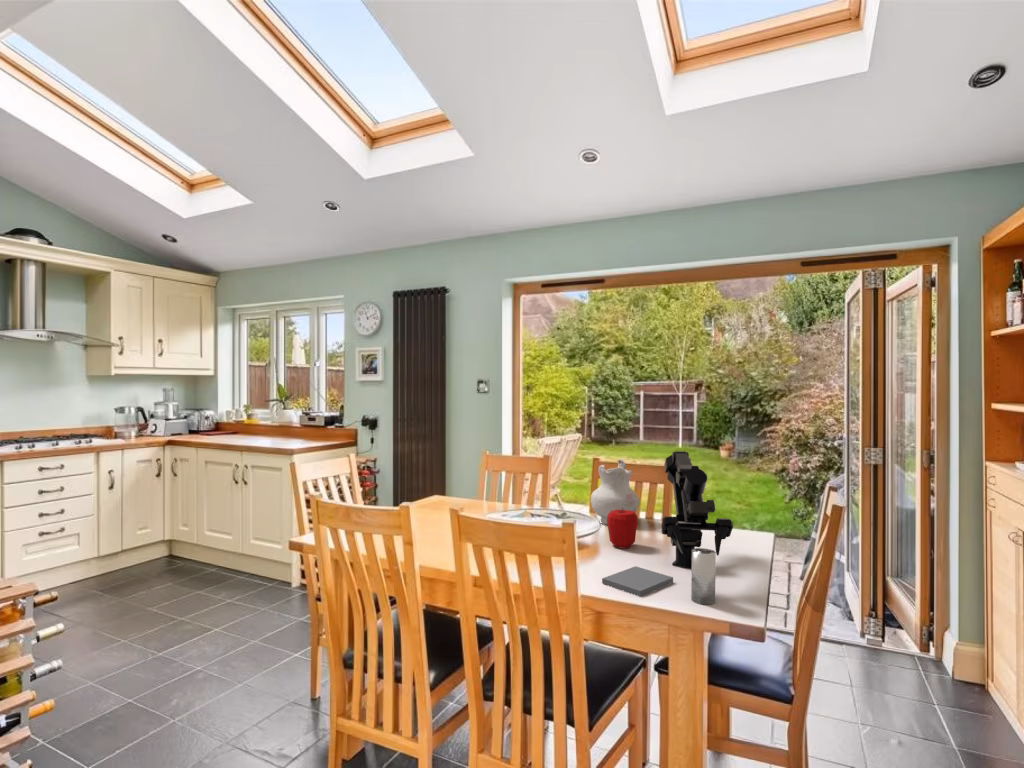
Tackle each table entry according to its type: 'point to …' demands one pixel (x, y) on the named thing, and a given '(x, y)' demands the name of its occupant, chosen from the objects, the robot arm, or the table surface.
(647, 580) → the base plate
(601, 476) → the ceramic pitcher
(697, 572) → the silver metal cylinder
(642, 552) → the table surface
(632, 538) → the apple
